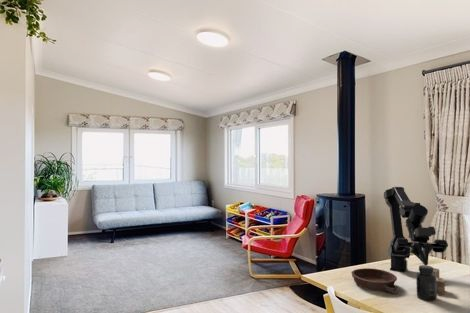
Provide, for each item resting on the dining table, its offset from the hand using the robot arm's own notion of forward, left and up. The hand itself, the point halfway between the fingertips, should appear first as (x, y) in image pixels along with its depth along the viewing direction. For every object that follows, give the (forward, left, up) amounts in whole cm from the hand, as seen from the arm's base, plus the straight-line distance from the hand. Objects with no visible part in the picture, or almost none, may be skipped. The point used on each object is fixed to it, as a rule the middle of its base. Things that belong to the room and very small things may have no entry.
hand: (426, 264), depth 133 cm
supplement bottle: (0, 0, -13) cm, 13 cm away
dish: (-20, +1, -13) cm, 24 cm away
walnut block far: (-2, +23, -13) cm, 27 cm away
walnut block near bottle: (+2, +10, -13) cm, 16 cm away
